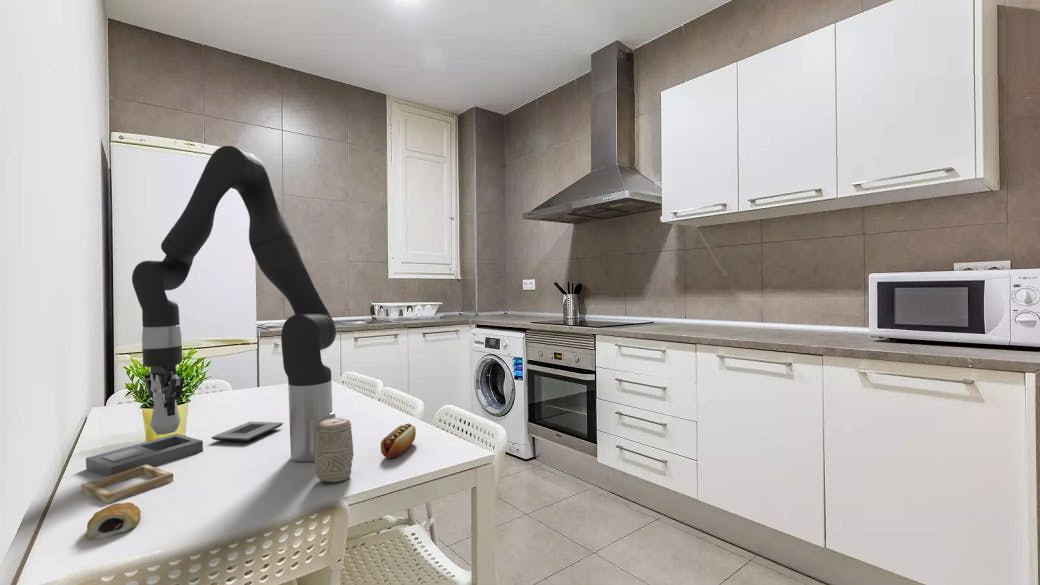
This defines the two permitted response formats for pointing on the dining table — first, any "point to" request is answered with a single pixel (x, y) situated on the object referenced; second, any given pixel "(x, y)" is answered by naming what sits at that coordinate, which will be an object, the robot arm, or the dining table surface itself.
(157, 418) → the salt shaker
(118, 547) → the dining table surface
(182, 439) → the grey rectangular frame
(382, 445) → the hot dog
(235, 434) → the electrical outlet
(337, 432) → the carving
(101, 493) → the wooden square frame
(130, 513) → the pastry
